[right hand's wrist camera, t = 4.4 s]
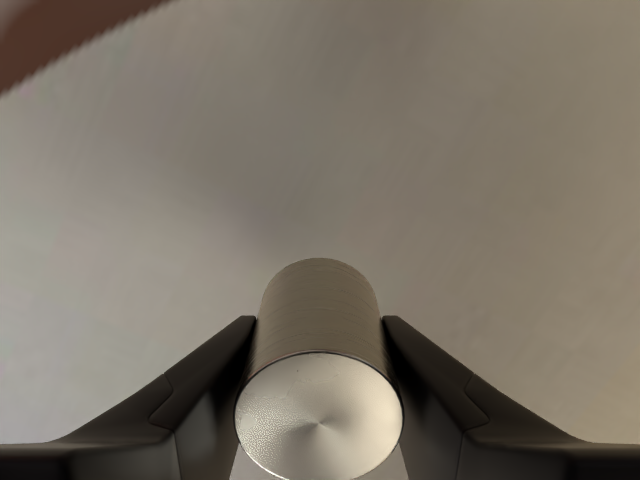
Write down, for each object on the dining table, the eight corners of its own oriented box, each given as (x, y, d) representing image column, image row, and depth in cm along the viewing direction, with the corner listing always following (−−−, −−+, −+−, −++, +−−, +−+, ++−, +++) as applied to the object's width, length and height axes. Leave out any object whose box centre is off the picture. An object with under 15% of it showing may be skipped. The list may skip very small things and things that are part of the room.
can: (335, 234, 12) (343, 318, 8) (398, 322, 13) (437, 440, 8) (238, 297, 12) (196, 405, 8) (305, 376, 13) (299, 509, 9)
